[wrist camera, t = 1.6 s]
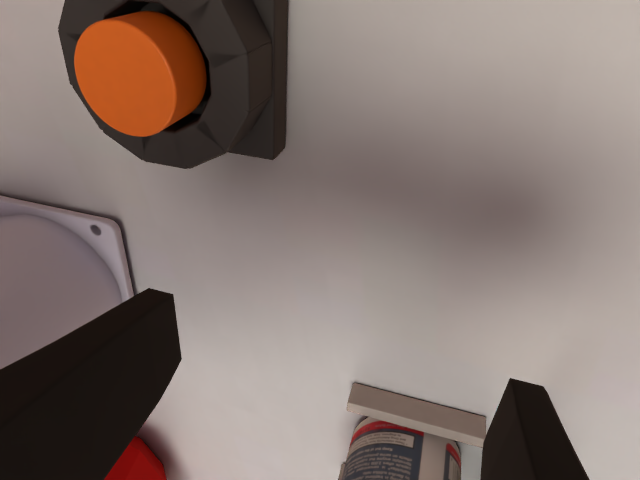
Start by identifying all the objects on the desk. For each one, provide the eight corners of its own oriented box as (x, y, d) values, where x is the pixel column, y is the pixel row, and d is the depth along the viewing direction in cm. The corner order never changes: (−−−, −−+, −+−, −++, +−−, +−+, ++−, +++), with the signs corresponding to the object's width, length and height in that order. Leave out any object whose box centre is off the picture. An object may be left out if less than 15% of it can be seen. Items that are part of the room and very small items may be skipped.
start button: (123, 110, 15) (86, 129, 14) (105, 5, 14) (61, 13, 12) (211, 124, 15) (181, 145, 13) (203, 16, 13) (168, 26, 11)
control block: (136, 123, 18) (83, 152, 16) (107, -62, 15) (35, -62, 13) (285, 148, 17) (253, 183, 15) (289, -48, 14) (247, -44, 11)
